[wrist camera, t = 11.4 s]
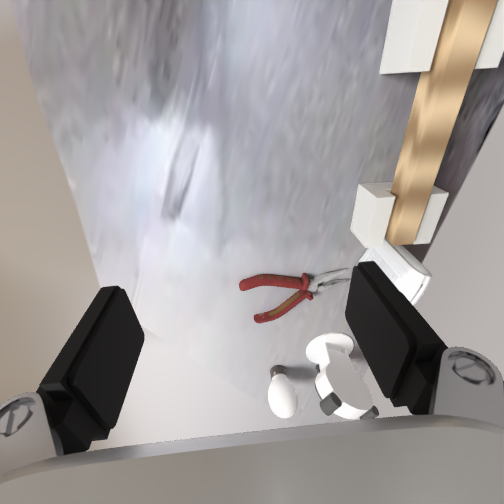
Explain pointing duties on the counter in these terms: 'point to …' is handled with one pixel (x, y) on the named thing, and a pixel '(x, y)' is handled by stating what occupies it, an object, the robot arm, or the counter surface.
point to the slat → (435, 113)
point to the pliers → (290, 282)
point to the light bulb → (282, 393)
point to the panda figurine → (339, 378)
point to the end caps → (409, 61)
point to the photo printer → (400, 269)
